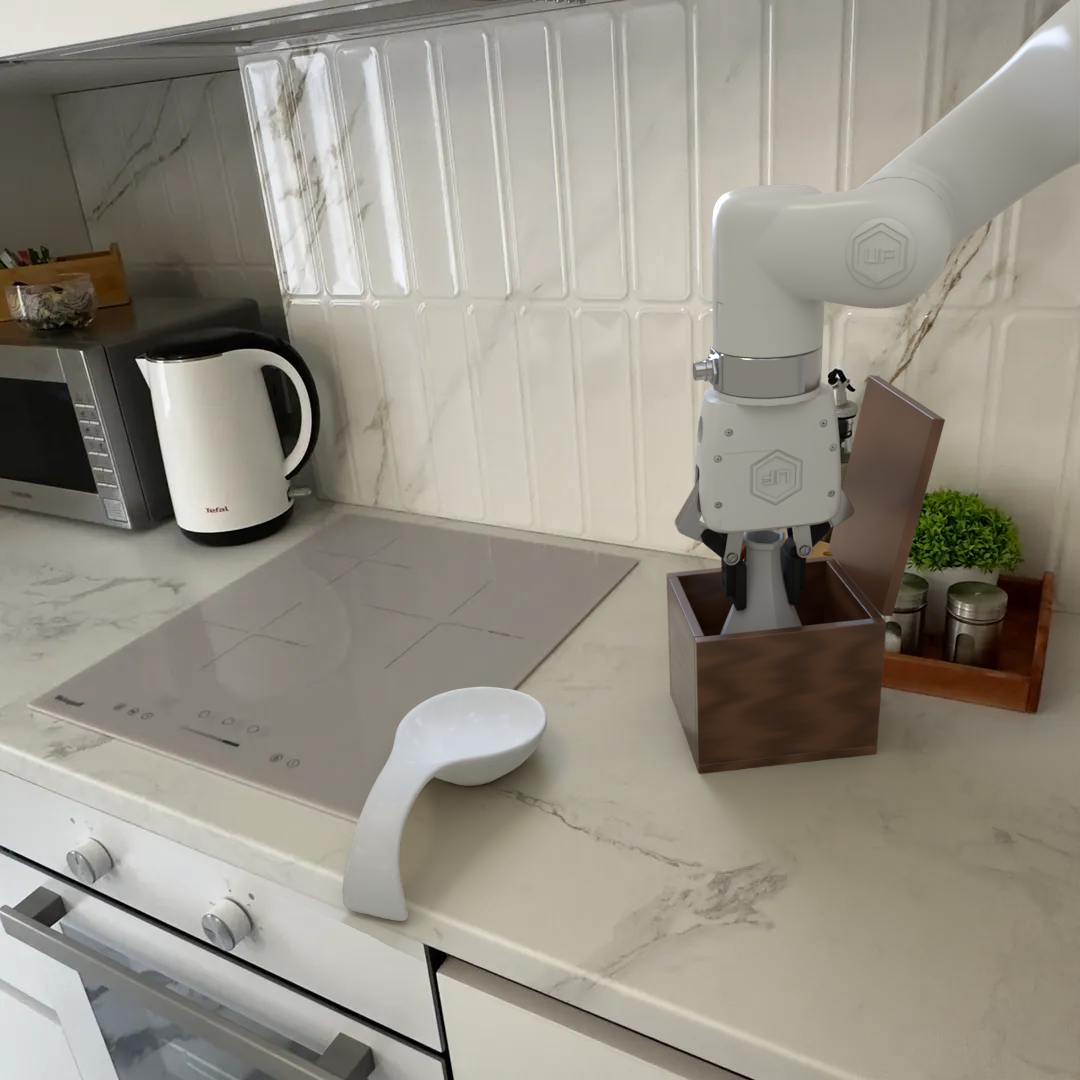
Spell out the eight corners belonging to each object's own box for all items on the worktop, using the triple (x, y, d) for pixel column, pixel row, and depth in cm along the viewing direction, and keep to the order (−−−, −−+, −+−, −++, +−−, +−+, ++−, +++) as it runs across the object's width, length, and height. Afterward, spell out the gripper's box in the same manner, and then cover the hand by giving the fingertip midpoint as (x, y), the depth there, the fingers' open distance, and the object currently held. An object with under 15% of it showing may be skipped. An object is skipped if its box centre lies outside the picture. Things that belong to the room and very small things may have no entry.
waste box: (698, 773, 76) (696, 642, 71) (669, 691, 86) (666, 572, 82) (876, 753, 76) (886, 622, 71) (826, 674, 87) (832, 555, 82)
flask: (820, 637, 79) (825, 525, 75) (790, 681, 74) (793, 563, 70) (736, 619, 83) (737, 511, 79) (701, 660, 78) (700, 546, 73)
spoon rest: (441, 710, 87) (431, 640, 84) (568, 727, 83) (562, 654, 80) (301, 906, 66) (281, 823, 64) (459, 940, 63) (446, 853, 60)
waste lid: (933, 418, 65) (945, 419, 65) (868, 374, 76) (878, 375, 76) (881, 616, 71) (892, 616, 71) (827, 550, 82) (837, 550, 82)
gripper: (660, 397, 65) (667, 634, 73) (903, 373, 66) (884, 611, 73) (642, 369, 72) (650, 589, 80) (861, 348, 73) (849, 568, 80)
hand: (762, 597), depth 77 cm, fingers closed on flask, 3 cm apart
